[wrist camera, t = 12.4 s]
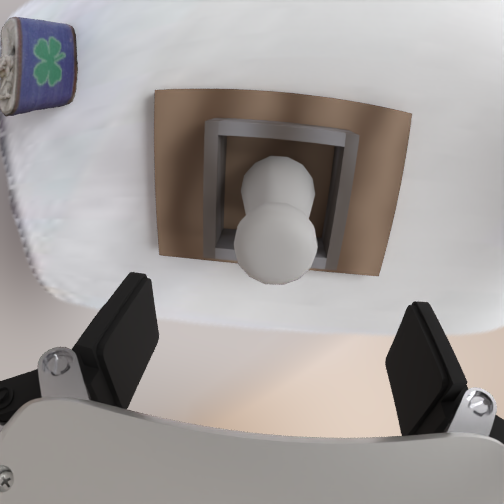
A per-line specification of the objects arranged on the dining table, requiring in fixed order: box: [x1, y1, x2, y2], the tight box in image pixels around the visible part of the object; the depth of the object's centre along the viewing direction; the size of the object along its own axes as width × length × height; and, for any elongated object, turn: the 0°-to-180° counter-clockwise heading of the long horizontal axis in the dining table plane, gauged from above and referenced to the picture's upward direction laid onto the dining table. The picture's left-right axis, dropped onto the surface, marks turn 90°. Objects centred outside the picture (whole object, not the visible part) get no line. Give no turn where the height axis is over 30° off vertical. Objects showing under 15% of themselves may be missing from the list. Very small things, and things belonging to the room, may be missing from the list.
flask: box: [0, 17, 78, 116], centre depth 19 cm, size 9×3×11 cm, turn 179°
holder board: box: [154, 89, 412, 276], centre depth 26 cm, size 22×16×6 cm
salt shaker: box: [234, 156, 318, 285], centre depth 21 cm, size 6×6×13 cm
